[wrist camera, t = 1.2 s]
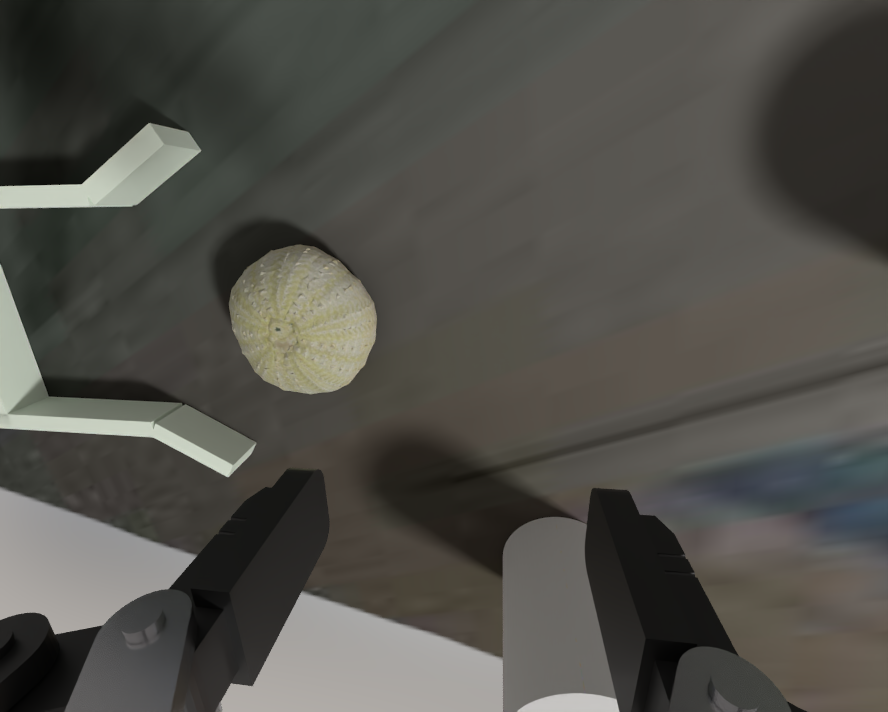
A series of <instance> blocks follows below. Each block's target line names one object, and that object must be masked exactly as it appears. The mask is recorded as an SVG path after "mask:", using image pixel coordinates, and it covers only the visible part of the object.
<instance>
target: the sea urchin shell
mask: <svg viewBox="0 0 888 712" xmlns="http://www.w3.org/2000/svg"><path fill="white" fill-rule="evenodd" d="M229 310H230V316H231V322H232V330H233V331H234V334H235V335H236V338H237V339H238V342H239V344H240V348H241V349H242V353H243V354H244V355H245V356H246V358H247V359H248V361H249V362H250V364H251V366H252V367H253V369H254V372H255V373H257V374H258V375H259V376H260V377H261V378H262V379H263V380H264V381H266V382H269V383H271V384H273V385H276V386H278V387H280V388H281V389H282V390H286V391H294V392H301V393H309V394H313V393H314V394H316V393H321V392H331V391H335V390H338V389H340V388H341V387H343V386H345V385H348V384H349V383H350V382H351V381H352V379H353V378H354V377H355V376H356V374H357V373H358V372H359V371H360V369H361V368H362V367H364V364H366V360H367V357H368V355H369V353H370V350H371V348H372V346H373V344H374V343H375V340H376V339H375V336H376V324H377V315H376V310H375V307H374V302H373V301H372V299H371V297H370V295H369V294H368V292H367V291H366V290H365V288H364V286H363V285H362V283H361V280H359V279H357V278H356V277H355V276H354V275H353V274H351V273H350V272H349V271H348V270H347V268H346V267H345V266H344V265H343V264H342V263H341V262H340V261H339V260H337V259H335V258H334V257H332V256H330V255H328V254H326V253H325V252H323V251H321V250H320V249H318V248H316V247H314V246H312V247H311V246H306V245H301V244H299V245H294V246H288V247H285V248H282V249H277V250H270V252H269V253H267V254H266V255H265V256H263V257H262V258H260V259H259V260H258V261H256V262H255V263H253V264H252V265H251V266H247V269H246V270H244V273H243V274H242V276H241V277H240V278H239V279H238V281H237V282H236V284H235V286H233V288H232V289H231V296H230V301H229Z"/></svg>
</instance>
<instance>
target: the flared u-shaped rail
mask: <svg viewBox="0 0 888 712" xmlns="http://www.w3.org/2000/svg"><path fill="white" fill-rule="evenodd" d="M199 152H201V150H200V148H199V147H198V145H197V144H196V142H195V141H194V139H193V138H192V136H191V135H190V133H189V132H187V131H182V130H178V129H174V128H169V127H165V126H161V125H156V124H152V123H148V124H147V125H146V126H145V127H144V128H143V129H142V130H141V131H140V132H139V133H137V134H136V135H135V136H134V137H133V138H132V139H131V140H130V141H129V142H128V143H127V144H125V145H124V146H123V147H122V148H121V149H120V150H119V151H118V152H117V153H116V154H114V155H113V156H112V157H111V158H110V159H109V160H108V161H107V162H106V163H105V164H103V165H102V166H101V167H100V168H99V169H98V170H97V171H96V172H95V173H94V174H92V175H91V176H90V177H89V178H88V179H87V180H86V181H85V182H84V183H83V184H78V185H36V186H0V209H6V208H68V207H129V206H133V205H137V204H139V203H140V202H141V201H142V200H143V199H145V198H146V197H147V196H148V195H149V194H150V193H152V192H153V191H154V190H155V189H156V188H158V187H159V186H160V185H161V184H162V183H164V182H165V181H166V180H167V179H168V178H170V177H171V176H172V175H173V174H174V173H176V172H177V171H178V170H179V169H180V168H182V167H183V166H184V165H185V164H186V163H187V162H189V161H190V160H191V159H192V158H193V157H195V156H196V155H197V154H198V153H199ZM0 428H7V429H24V430H40V431H57V432H74V433H91V434H107V435H124V436H141V437H154V438H156V439H157V440H159V441H161V442H163V443H165V444H167V445H169V446H171V447H172V448H174V449H176V450H178V451H180V452H182V453H184V454H186V455H187V456H189V457H191V458H193V459H195V460H197V461H199V462H201V463H202V464H204V465H206V466H208V467H210V468H212V469H214V470H216V471H217V472H219V473H221V474H223V475H225V476H227V477H229V476H230V475H231V474H232V473H233V472H234V471H235V470H236V469H237V468H238V467H239V466H240V465H241V464H242V463H243V462H244V461H245V460H246V459H247V458H248V457H249V456H250V455H251V454H252V452H253V449H254V447H255V445H256V443H257V442H255V441H253V440H251V439H249V438H247V437H246V436H244V435H242V434H240V433H238V432H236V431H234V430H233V429H231V428H229V427H227V426H225V425H223V424H222V423H220V422H218V421H216V420H214V419H212V418H210V417H209V416H207V415H205V414H203V413H201V412H199V411H198V410H196V409H194V408H192V407H190V406H188V405H186V404H185V405H183V406H182V403H173V402H152V401H131V400H110V399H90V398H69V397H49V396H48V393H47V390H46V387H45V385H44V382H43V379H42V376H41V374H40V371H39V368H38V365H37V363H36V360H35V357H34V355H33V352H32V349H31V346H30V344H29V341H28V338H27V335H26V333H25V330H24V327H23V324H22V322H21V319H20V316H19V313H18V311H17V308H16V305H15V303H14V300H13V297H12V294H11V292H10V289H9V286H8V283H7V281H6V278H5V275H4V272H3V270H2V267H1V264H0Z"/></svg>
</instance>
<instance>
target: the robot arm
mask: <svg viewBox="0 0 888 712" xmlns="http://www.w3.org/2000/svg"><path fill="white" fill-rule="evenodd" d="M328 533H329V514H328V506H327V498H326V491H325V483H324V477H323V473H322V471H321V470H318V469H302V468H289V469H287V470H286V471H285V472H284V474H283V475H282V476H281V477H280V479H279V480H278V481H277V482H276V483H275V485H274V486H273V487H272V488H269V487H265V488H264V489H262V490H261V491H259V492H258V493H256V494H255V495H253V496H252V497H250V498H249V499H247V500H246V501H245V502H244V503H243V504H242V505H241V506H240V507H239V509H238V510H237V511H236V512H235V513H234V514H233V515H232V517H231V520H228V521H227V522H226V524H225V525H224V526H223V527H222V528H221V529H220V530H219V534H216V535H215V536H214V537H213V539H212V540H211V541H210V542H209V543H208V544H207V545H206V547H205V548H204V549H203V550H202V551H201V552H200V554H199V555H198V556H197V557H196V558H195V559H194V560H193V562H192V563H191V564H190V565H189V566H188V567H187V568H186V570H185V571H184V572H183V573H182V574H181V576H180V577H179V578H178V579H177V580H176V581H175V582H174V584H173V585H172V586H171V587H170V588H169V589H168V590H160V591H155V592H152V593H149V594H146V595H144V596H142V597H140V598H137V599H136V600H134V601H132V602H130V603H129V604H127V605H125V606H124V607H123V608H121V609H120V610H119V611H117V612H116V613H115V614H114V615H113V616H112V617H111V618H109V619H108V621H107V622H106V623H105V624H104V625H103V626H98V627H93V628H87V629H82V630H77V631H72V632H66V633H61V634H56V635H55V634H54V632H53V630H52V628H51V626H50V623H49V621H48V619H47V618H46V617H45V616H44V615H42V614H39V613H24V614H18V615H15V616H11V617H8V618H5V619H2V620H0V712H222V707H221V700H222V698H223V696H224V695H225V693H226V691H227V689H228V687H229V686H230V684H231V683H233V684H241V685H248V686H253V684H254V682H255V680H256V678H257V676H258V674H259V672H260V670H261V669H262V667H263V665H264V662H265V661H266V659H267V657H268V655H269V653H270V651H271V649H272V647H273V645H274V643H275V641H276V640H277V637H278V636H279V634H280V632H281V630H282V628H283V626H284V624H285V622H286V620H287V618H288V616H289V614H290V613H291V611H292V609H293V607H294V605H295V603H296V601H297V599H298V597H299V595H300V593H301V591H302V589H303V587H304V586H305V584H306V582H307V580H308V578H309V576H310V574H311V572H312V570H313V568H314V566H315V564H316V562H317V560H318V559H319V557H320V555H321V553H322V551H323V549H324V547H325V544H326V541H327V538H328ZM585 563H586V570H587V575H588V579H589V583H590V588H591V592H592V596H593V601H594V605H595V609H596V613H597V618H598V622H599V626H600V631H601V635H602V639H603V643H604V648H605V652H606V656H607V661H608V665H609V669H610V674H611V678H612V682H613V686H614V691H615V695H616V699H617V704H618V708H619V712H807V711H804V710H802V709H800V708H798V707H796V706H794V705H793V704H791V703H789V702H787V701H786V699H785V698H784V697H783V695H782V694H781V692H780V691H779V689H778V688H777V687H776V686H775V685H774V684H773V682H772V681H771V680H770V679H769V678H768V677H767V676H766V675H765V674H764V673H762V672H761V671H760V670H759V669H757V668H756V667H755V666H754V665H752V664H751V663H749V662H748V661H746V660H745V659H743V658H741V657H739V656H738V654H737V652H736V651H735V649H734V647H733V645H732V643H731V641H730V639H729V637H728V635H727V634H726V632H725V630H724V628H723V626H722V624H721V622H720V620H719V618H718V616H717V615H716V613H715V611H714V609H713V607H712V605H711V603H710V601H709V599H708V597H707V595H706V594H705V592H704V590H703V588H702V586H701V584H700V582H699V580H698V578H695V573H694V571H693V569H692V567H691V565H690V563H689V561H688V559H686V558H685V554H684V552H683V550H682V548H681V546H680V544H679V542H678V540H677V538H676V536H675V535H674V533H673V532H671V531H670V530H669V529H668V528H667V527H666V526H665V525H664V524H663V523H662V522H661V521H660V520H659V519H658V518H657V517H656V516H649V515H640V514H639V512H638V510H637V507H636V505H635V503H634V501H633V499H632V496H631V494H630V493H629V491H627V490H615V489H600V488H593V489H592V491H591V496H590V504H589V512H588V520H587V529H586V537H585Z"/></svg>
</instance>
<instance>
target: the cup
mask: <svg viewBox="0 0 888 712" xmlns="http://www.w3.org/2000/svg"><path fill="white" fill-rule="evenodd" d="M586 529H587V524H585V523H582V522H580V521H577V520H574V519H570V518H564V517H546V518H540V519H536V520H533V521H530V522H528V523H526V524H524V525H522V526H521V527H519V528H518V529H517V530H515V531H514V532H513V533H512V534H511V536H510V537H509V538H508V540H507V542H506V544H505V546H504V550H503V712H619V708H618V704H617V699H616V695H615V691H614V686H613V682H612V678H611V674H610V669H609V665H608V661H607V656H606V652H605V648H604V643H603V639H602V635H601V631H600V626H599V622H598V618H597V613H596V609H595V605H594V601H593V596H592V592H591V588H590V583H589V579H588V575H587V570H586V563H585V537H586Z"/></svg>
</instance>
